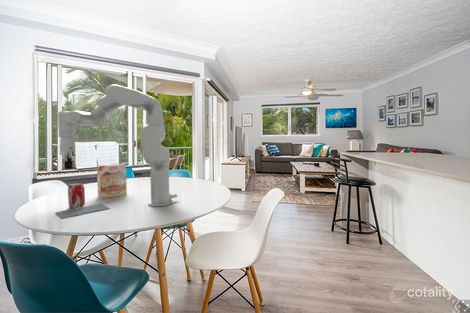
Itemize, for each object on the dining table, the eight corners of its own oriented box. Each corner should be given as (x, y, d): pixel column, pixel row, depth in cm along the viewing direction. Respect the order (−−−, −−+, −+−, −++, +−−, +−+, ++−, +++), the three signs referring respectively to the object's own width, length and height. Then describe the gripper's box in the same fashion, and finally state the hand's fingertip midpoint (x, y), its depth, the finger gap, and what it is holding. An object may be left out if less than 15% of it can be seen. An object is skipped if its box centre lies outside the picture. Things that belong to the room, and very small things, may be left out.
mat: (101, 204, 125) (101, 203, 125) (110, 208, 117) (109, 207, 117) (55, 213, 110) (55, 212, 110) (61, 218, 102) (61, 217, 102)
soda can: (65, 207, 119) (64, 184, 118) (79, 204, 125) (78, 182, 125) (74, 209, 116) (73, 185, 115) (88, 205, 123) (87, 183, 122)
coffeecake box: (100, 198, 138) (99, 165, 136) (97, 196, 143) (96, 165, 141) (127, 194, 148) (126, 164, 146) (123, 192, 153) (122, 163, 152)
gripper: (55, 134, 128) (56, 167, 129) (62, 134, 118) (63, 170, 119) (71, 134, 133) (72, 166, 135) (79, 134, 123) (80, 169, 125)
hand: (68, 168), depth 127 cm, fingers closed
